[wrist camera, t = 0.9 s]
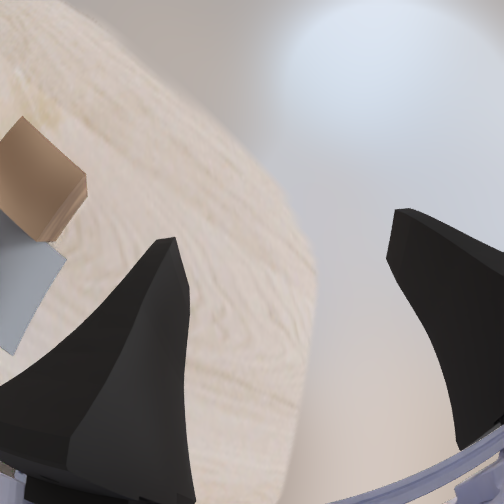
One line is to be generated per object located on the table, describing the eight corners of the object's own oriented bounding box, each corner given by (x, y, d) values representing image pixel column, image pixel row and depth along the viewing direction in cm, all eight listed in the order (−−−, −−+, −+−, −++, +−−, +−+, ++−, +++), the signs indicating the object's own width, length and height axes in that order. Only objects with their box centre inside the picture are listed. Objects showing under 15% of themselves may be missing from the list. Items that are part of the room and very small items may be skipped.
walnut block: (55, 241, 18) (36, 241, 11) (9, 200, 16) (-28, 179, 9) (87, 197, 19) (85, 173, 12) (42, 156, 17) (22, 115, 10)
